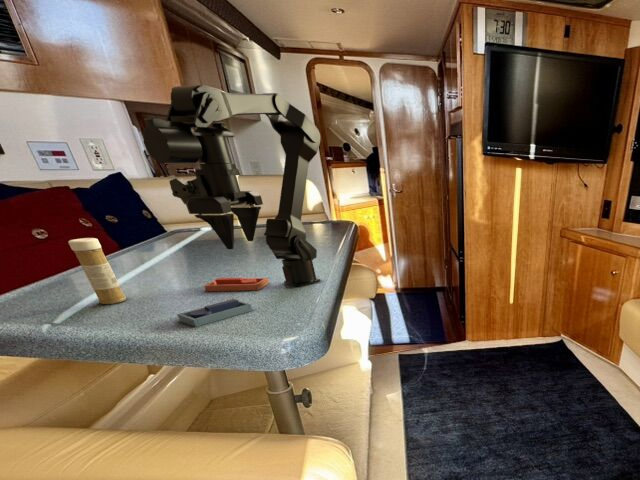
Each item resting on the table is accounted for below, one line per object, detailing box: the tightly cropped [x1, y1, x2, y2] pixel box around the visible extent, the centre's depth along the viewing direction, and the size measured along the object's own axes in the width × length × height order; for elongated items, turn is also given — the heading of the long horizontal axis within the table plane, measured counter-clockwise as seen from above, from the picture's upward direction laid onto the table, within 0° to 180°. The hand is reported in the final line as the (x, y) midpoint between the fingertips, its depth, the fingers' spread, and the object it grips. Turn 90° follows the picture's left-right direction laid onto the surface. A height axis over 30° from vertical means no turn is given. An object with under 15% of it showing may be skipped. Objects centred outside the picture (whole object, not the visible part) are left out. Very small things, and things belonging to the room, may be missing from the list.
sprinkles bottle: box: [67, 237, 127, 305], centre depth 86 cm, size 5×5×14 cm
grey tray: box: [176, 300, 254, 328], centre depth 82 cm, size 11×6×1 cm, turn 150°
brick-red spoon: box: [214, 277, 257, 285], centre depth 100 cm, size 9×4×2 cm, turn 96°
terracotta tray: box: [203, 277, 270, 292], centre depth 100 cm, size 12×6×1 cm, turn 96°
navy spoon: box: [190, 298, 240, 319], centre depth 82 cm, size 9×4×2 cm, turn 150°
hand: (241, 245), depth 87 cm, fingers open, 9 cm apart
